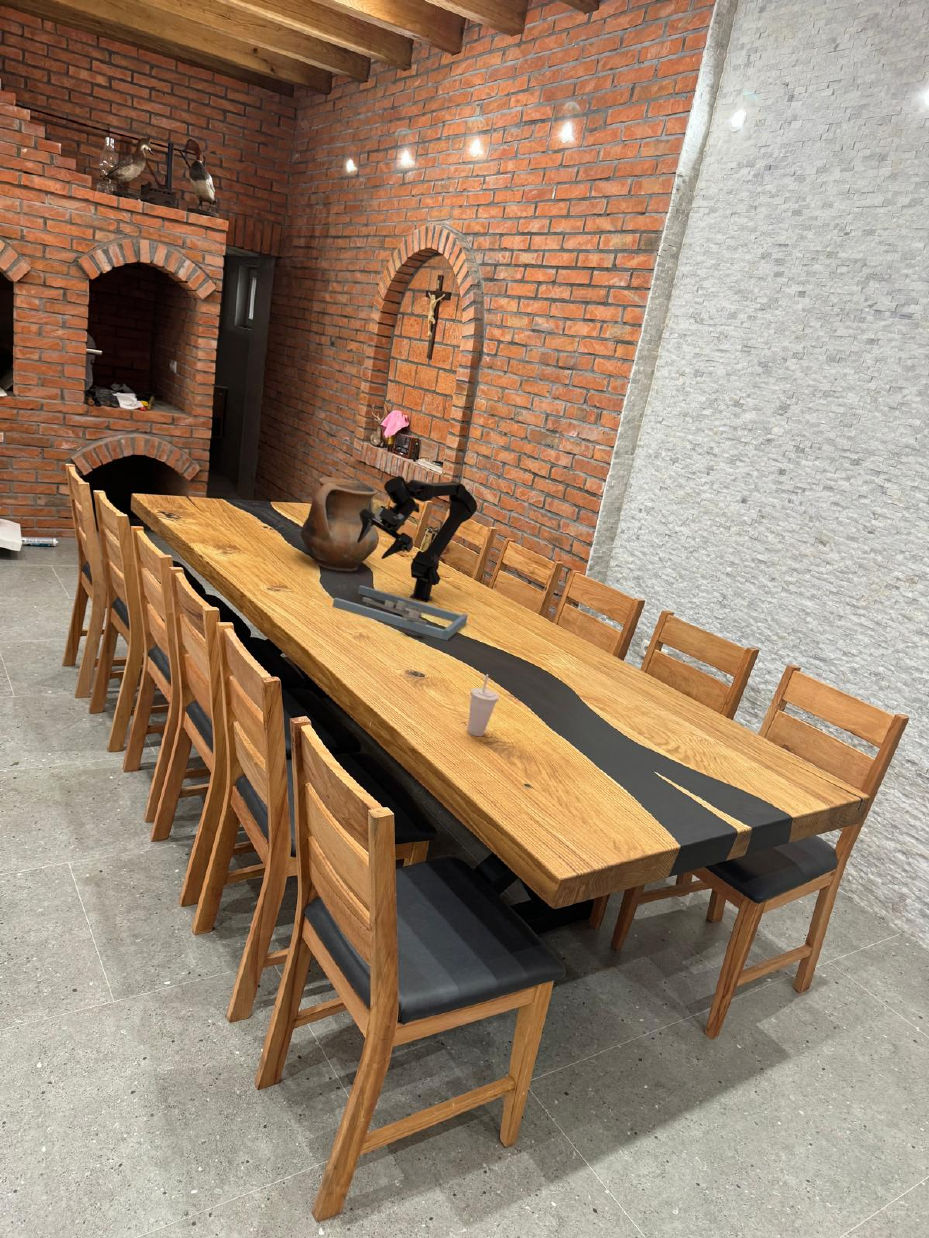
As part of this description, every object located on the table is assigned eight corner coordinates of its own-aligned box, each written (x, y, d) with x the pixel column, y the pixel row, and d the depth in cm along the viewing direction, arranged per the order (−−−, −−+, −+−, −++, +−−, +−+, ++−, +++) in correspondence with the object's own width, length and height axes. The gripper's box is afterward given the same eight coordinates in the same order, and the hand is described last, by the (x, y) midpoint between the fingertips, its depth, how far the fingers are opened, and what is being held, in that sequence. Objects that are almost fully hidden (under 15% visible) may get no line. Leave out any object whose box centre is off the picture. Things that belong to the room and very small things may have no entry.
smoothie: (473, 723, 189) (486, 668, 185) (495, 735, 185) (509, 679, 181) (456, 729, 184) (469, 672, 180) (477, 741, 180) (491, 683, 176)
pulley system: (388, 611, 262) (354, 601, 251) (393, 597, 262) (359, 586, 251) (447, 635, 244) (413, 625, 233) (452, 620, 244) (418, 610, 233)
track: (359, 592, 268) (361, 583, 267) (465, 623, 260) (467, 615, 259) (332, 606, 248) (334, 597, 247) (446, 640, 241) (448, 631, 240)
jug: (360, 583, 278) (375, 497, 269) (282, 563, 280) (295, 477, 272) (383, 564, 309) (398, 486, 300) (313, 546, 311) (326, 469, 303)
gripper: (373, 484, 248) (342, 522, 243) (423, 516, 245) (392, 555, 240) (376, 502, 258) (346, 539, 254) (424, 533, 255) (395, 570, 250)
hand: (369, 550), depth 249 cm, fingers open, 9 cm apart
